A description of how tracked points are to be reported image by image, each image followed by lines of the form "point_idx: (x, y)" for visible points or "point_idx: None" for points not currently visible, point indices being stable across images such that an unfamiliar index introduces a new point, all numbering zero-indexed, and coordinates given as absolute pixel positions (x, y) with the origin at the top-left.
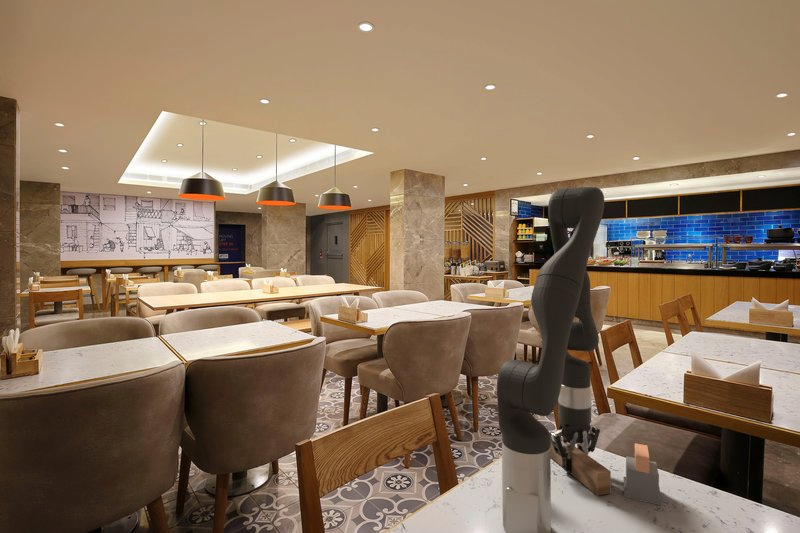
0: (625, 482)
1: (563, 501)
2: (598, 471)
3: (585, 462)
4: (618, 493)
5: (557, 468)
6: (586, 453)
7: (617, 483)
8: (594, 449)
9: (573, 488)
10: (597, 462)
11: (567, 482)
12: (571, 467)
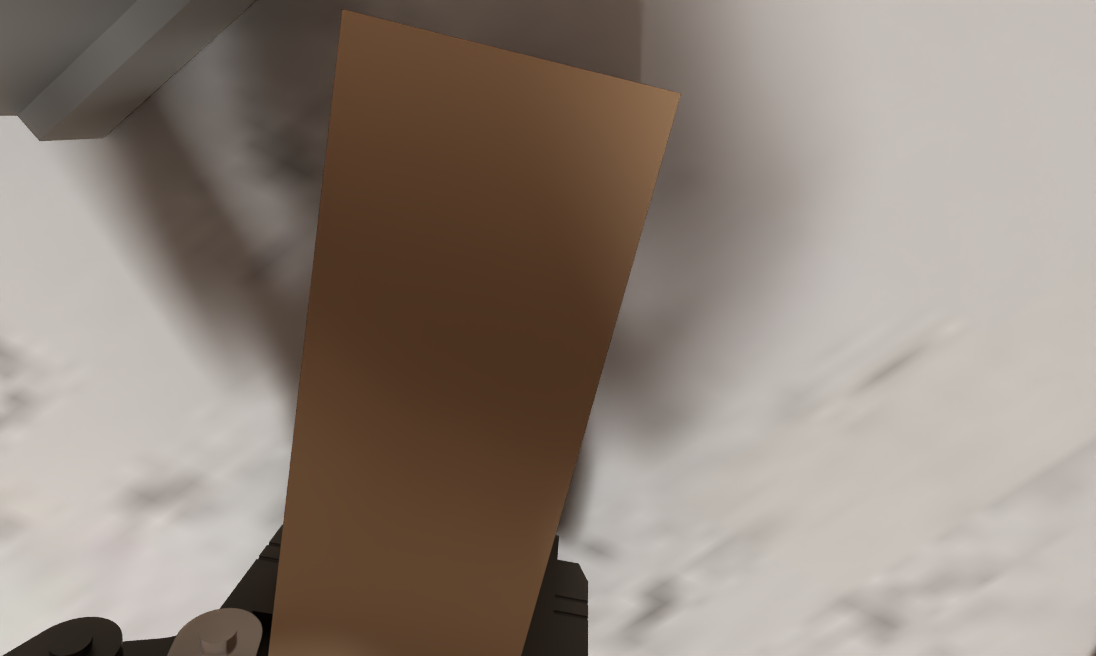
0: (126, 29)
1: (1060, 241)
2: (586, 135)
3: (518, 469)
4: None
5: None
6: (231, 634)
7: (183, 166)
8: (33, 638)
9: (727, 349)
10: (314, 365)
11: (681, 450)
12: None
